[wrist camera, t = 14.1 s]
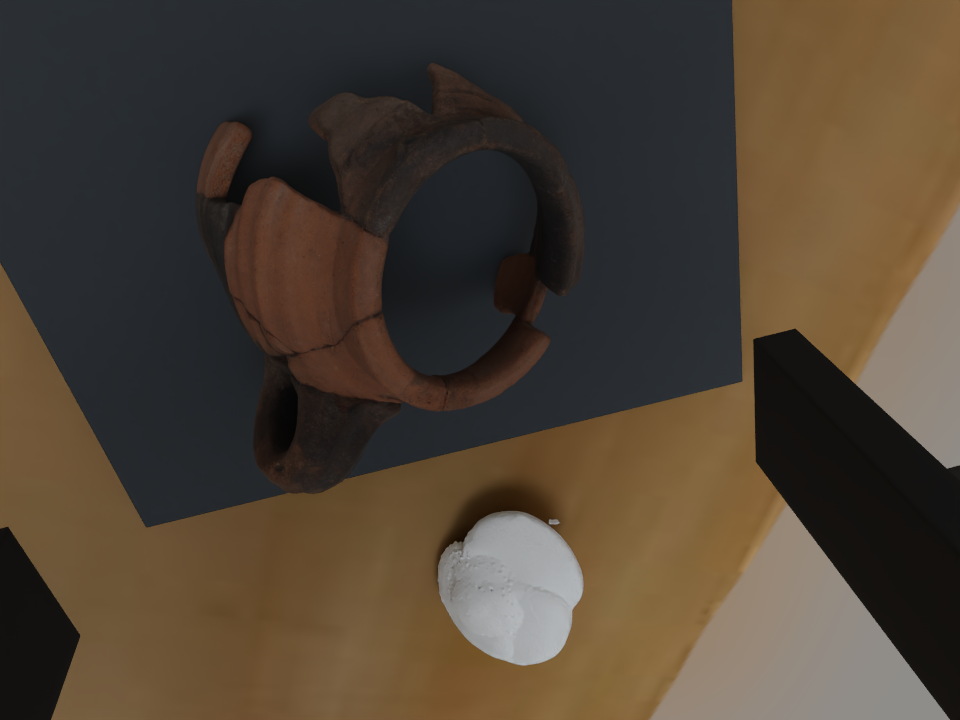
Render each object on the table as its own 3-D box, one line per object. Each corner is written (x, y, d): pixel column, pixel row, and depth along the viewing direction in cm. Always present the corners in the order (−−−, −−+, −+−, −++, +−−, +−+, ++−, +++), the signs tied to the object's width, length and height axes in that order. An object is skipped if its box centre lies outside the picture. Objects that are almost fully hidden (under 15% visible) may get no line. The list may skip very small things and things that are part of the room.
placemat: (148, 519, 29) (145, 528, 29) (-122, 22, 20) (-132, 25, 20) (737, 374, 30) (743, 381, 29) (720, -169, 21) (728, -170, 20)
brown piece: (209, -3, 21) (379, 10, 15) (472, 110, 28) (661, 149, 22) (108, 420, 23) (223, 572, 18) (373, 432, 30) (520, 545, 24)
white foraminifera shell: (540, 607, 35) (536, 693, 31) (425, 573, 34) (409, 657, 31) (608, 503, 30) (611, 589, 27) (478, 462, 30) (467, 545, 27)
